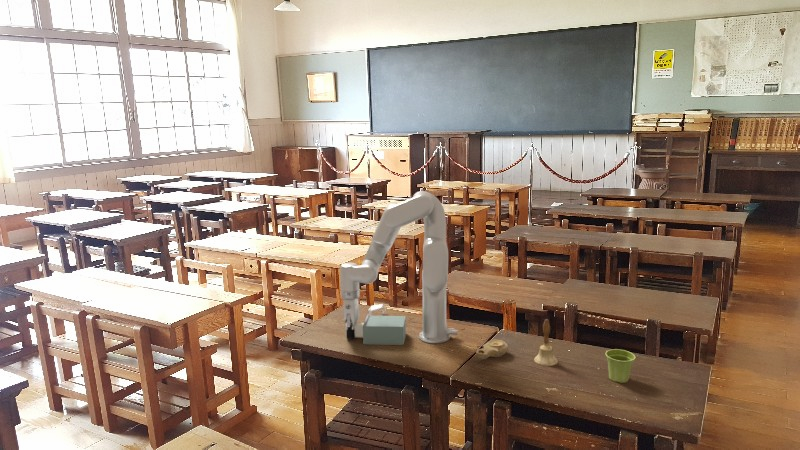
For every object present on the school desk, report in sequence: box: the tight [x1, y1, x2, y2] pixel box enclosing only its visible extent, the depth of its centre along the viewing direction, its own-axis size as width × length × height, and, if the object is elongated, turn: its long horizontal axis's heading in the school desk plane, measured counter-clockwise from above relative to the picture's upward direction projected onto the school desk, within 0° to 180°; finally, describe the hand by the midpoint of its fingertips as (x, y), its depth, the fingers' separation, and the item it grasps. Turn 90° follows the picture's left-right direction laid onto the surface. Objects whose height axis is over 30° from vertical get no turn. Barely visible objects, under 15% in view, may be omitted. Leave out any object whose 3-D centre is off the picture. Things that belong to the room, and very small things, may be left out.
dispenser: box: [362, 313, 407, 346], centre depth 224 cm, size 16×12×8 cm
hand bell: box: [533, 318, 558, 367], centre depth 200 cm, size 8×8×16 cm
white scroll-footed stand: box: [367, 303, 387, 316], centre depth 248 cm, size 12×8×5 cm
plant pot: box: [604, 348, 636, 384], centre depth 186 cm, size 9×9×9 cm
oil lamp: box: [475, 339, 509, 359], centre depth 206 cm, size 11×14×5 cm
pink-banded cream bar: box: [345, 322, 364, 338], centre depth 225 cm, size 13×3×5 cm, turn 85°
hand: (351, 336), depth 226 cm, fingers closed on pink-banded cream bar, 3 cm apart
